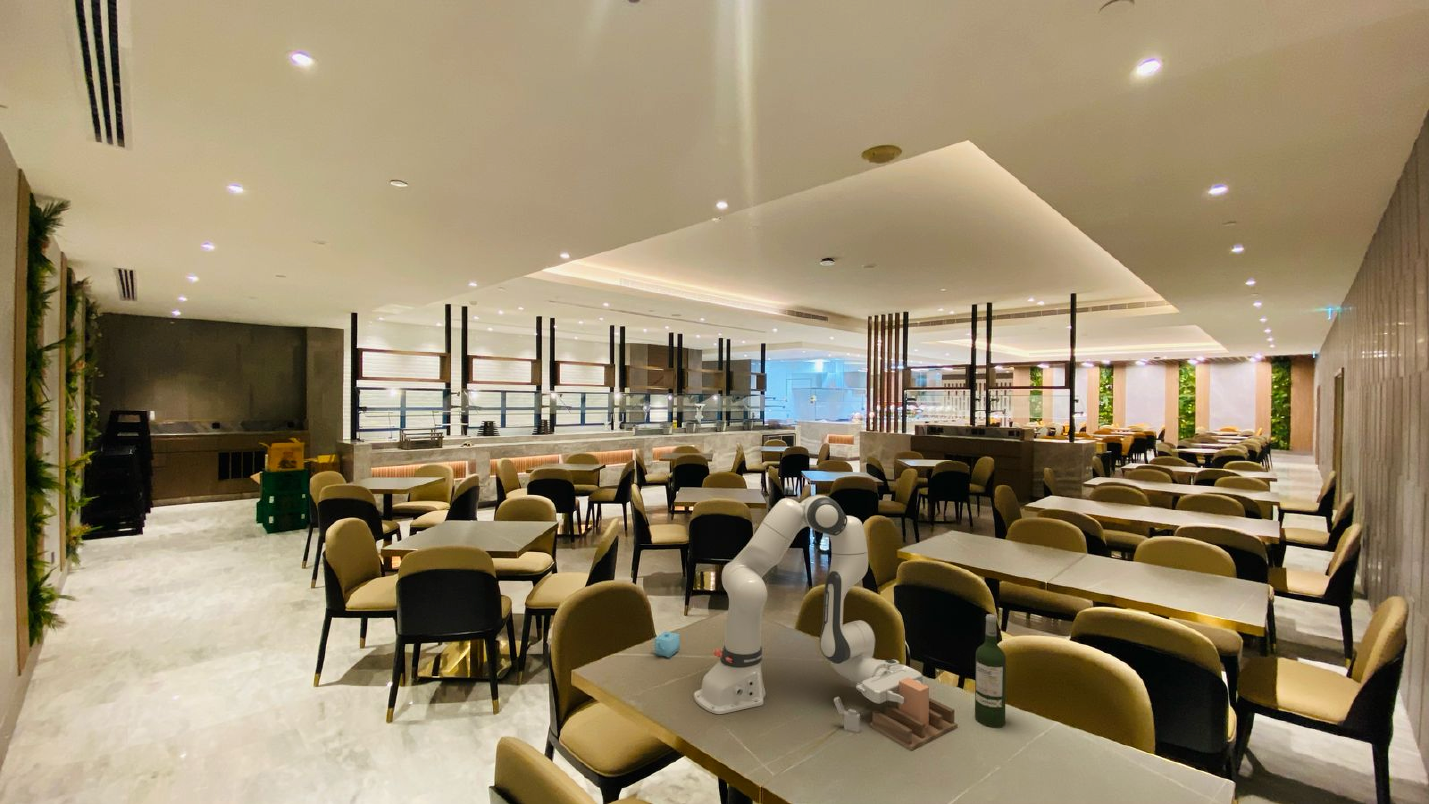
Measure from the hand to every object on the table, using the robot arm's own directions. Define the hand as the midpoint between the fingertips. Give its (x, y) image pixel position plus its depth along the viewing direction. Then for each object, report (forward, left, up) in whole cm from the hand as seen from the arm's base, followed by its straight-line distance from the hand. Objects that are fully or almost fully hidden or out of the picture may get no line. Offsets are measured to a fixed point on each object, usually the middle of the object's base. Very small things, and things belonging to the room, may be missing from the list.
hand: (915, 695), depth 169 cm
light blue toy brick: (-34, +80, -9) cm, 87 cm away
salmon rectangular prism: (0, +1, -8) cm, 8 cm away
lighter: (-16, +11, -9) cm, 21 cm away
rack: (0, +1, -9) cm, 9 cm away
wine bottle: (+21, -9, -9) cm, 25 cm away
